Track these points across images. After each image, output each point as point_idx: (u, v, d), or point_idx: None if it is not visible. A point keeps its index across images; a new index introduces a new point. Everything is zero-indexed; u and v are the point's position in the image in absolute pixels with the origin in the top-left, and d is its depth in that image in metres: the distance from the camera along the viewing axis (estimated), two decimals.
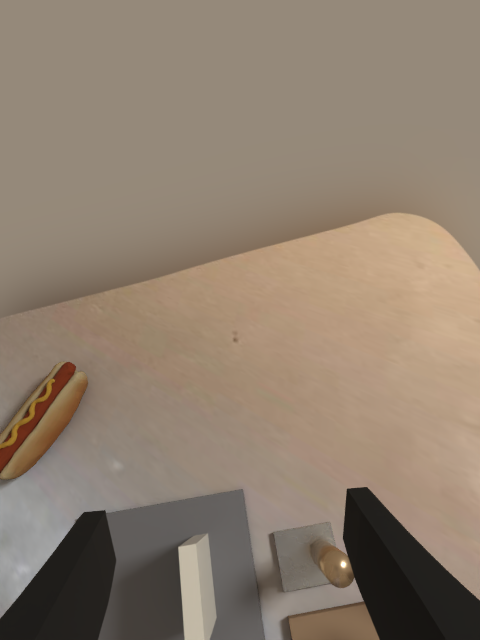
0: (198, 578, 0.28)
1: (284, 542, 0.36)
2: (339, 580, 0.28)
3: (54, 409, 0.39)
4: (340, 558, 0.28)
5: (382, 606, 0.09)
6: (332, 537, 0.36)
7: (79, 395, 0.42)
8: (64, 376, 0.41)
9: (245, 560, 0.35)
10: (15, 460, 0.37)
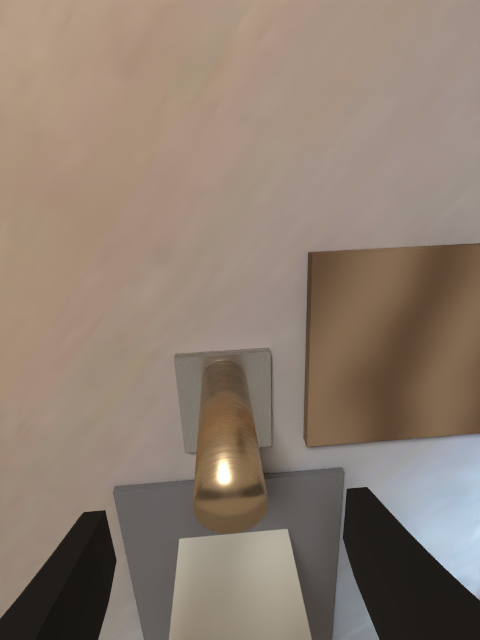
0: None
1: None
2: (252, 509, 0.11)
3: None
4: (208, 501, 0.11)
5: (382, 606, 0.09)
6: (200, 359, 0.18)
7: None
8: None
9: None
10: None
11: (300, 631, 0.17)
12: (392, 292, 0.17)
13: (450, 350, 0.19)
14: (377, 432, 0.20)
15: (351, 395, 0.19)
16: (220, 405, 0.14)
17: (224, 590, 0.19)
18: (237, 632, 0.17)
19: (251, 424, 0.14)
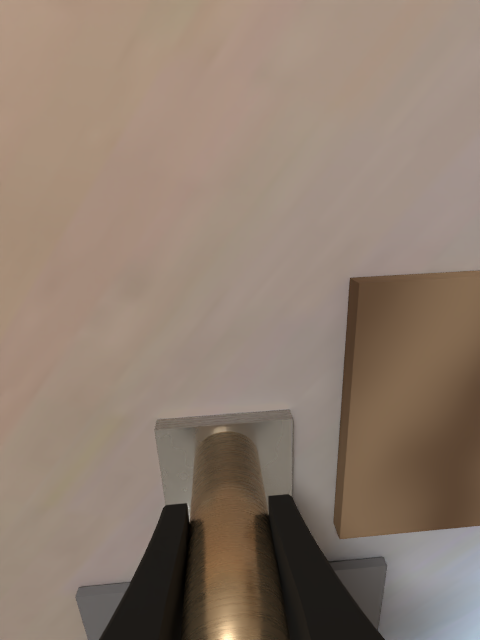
0: None
1: None
2: None
3: None
4: None
5: (288, 616, 0.08)
6: (192, 430, 0.13)
7: None
8: None
9: None
10: None
11: None
12: (472, 336, 0.12)
13: None
14: (436, 519, 0.15)
15: (404, 473, 0.14)
16: (221, 536, 0.09)
17: None
18: None
19: (273, 573, 0.08)
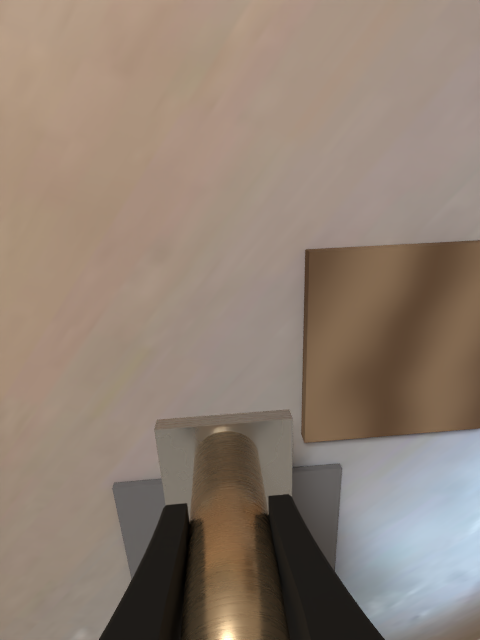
0: None
1: None
2: None
3: None
4: None
5: (288, 616, 0.08)
6: (192, 430, 0.13)
7: None
8: None
9: None
10: None
11: None
12: (388, 289, 0.17)
13: (446, 346, 0.19)
14: (374, 428, 0.20)
15: (348, 391, 0.19)
16: (220, 536, 0.09)
17: None
18: None
19: (273, 573, 0.08)
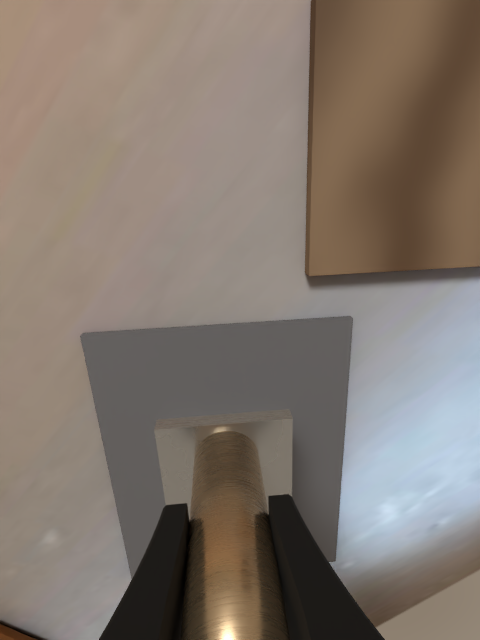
0: None
1: None
2: None
3: None
4: None
5: (288, 615, 0.08)
6: (192, 430, 0.13)
7: None
8: None
9: (209, 341, 0.18)
10: None
11: None
12: (413, 53, 0.14)
13: None
14: (392, 259, 0.17)
15: (362, 204, 0.16)
16: (221, 535, 0.09)
17: None
18: None
19: (273, 573, 0.08)
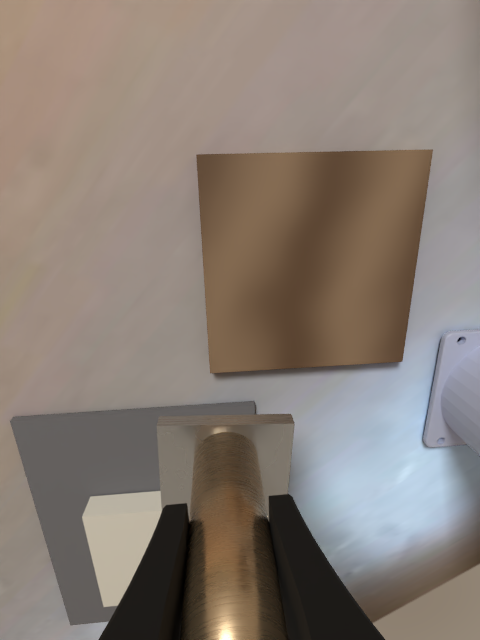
0: None
1: None
2: None
3: None
4: None
5: (288, 615, 0.08)
6: (194, 428, 0.13)
7: None
8: None
9: (127, 424, 0.20)
10: None
11: None
12: (285, 200, 0.17)
13: (352, 268, 0.18)
14: (283, 358, 0.19)
15: (252, 316, 0.18)
16: (223, 536, 0.09)
17: (137, 553, 0.22)
18: None
19: (273, 575, 0.08)
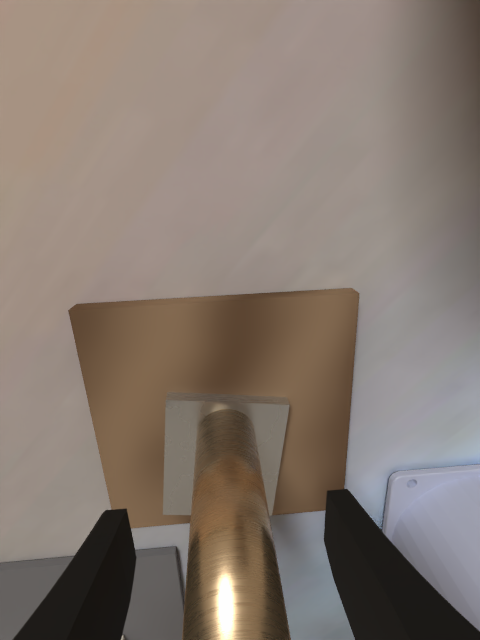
0: None
1: (186, 499, 0.16)
2: None
3: None
4: None
5: (358, 608, 0.08)
6: (199, 404, 0.14)
7: None
8: None
9: (28, 578, 0.18)
10: None
11: None
12: (184, 353, 0.14)
13: None
14: None
15: (158, 472, 0.16)
16: (226, 489, 0.10)
17: None
18: None
19: (268, 524, 0.10)
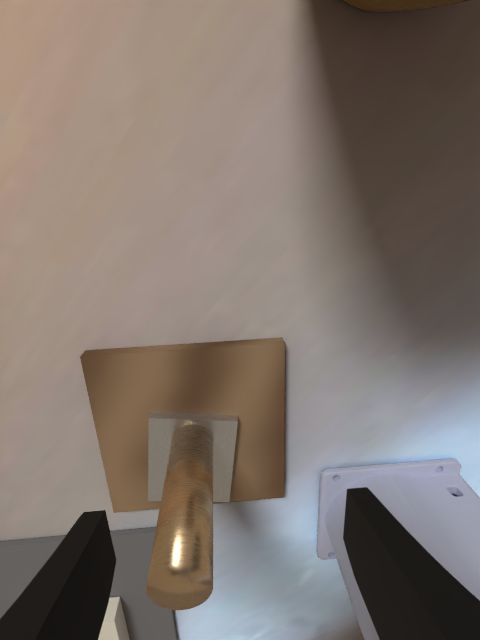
0: None
1: None
2: (198, 591, 0.13)
3: None
4: (160, 582, 0.12)
5: (382, 606, 0.09)
6: (172, 421, 0.20)
7: None
8: None
9: (47, 550, 0.23)
10: None
11: None
12: (161, 385, 0.19)
13: None
14: None
15: (145, 469, 0.21)
16: (183, 480, 0.16)
17: None
18: None
19: (209, 501, 0.16)
